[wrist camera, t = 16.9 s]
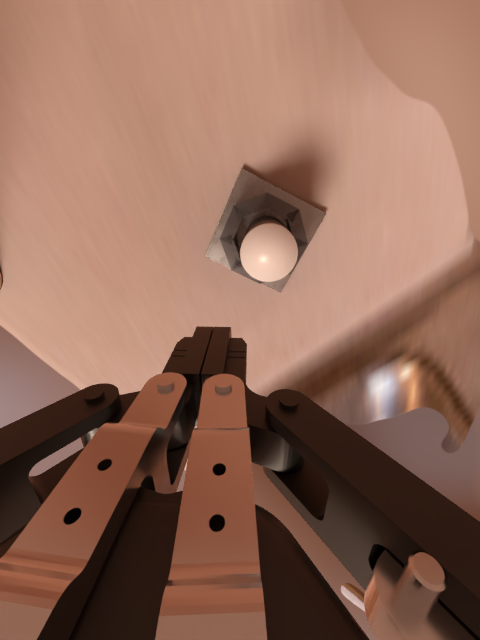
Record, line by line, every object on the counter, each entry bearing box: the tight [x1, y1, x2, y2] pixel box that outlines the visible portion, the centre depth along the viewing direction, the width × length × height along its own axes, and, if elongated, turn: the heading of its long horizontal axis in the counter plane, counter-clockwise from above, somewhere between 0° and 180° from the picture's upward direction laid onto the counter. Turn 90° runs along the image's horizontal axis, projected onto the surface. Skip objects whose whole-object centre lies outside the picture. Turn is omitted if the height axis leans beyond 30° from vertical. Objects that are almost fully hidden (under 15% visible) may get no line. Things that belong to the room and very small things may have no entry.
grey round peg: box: [240, 216, 298, 282], centre depth 30 cm, size 5×5×10 cm
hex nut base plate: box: [205, 168, 326, 292], centre depth 33 cm, size 11×11×4 cm
